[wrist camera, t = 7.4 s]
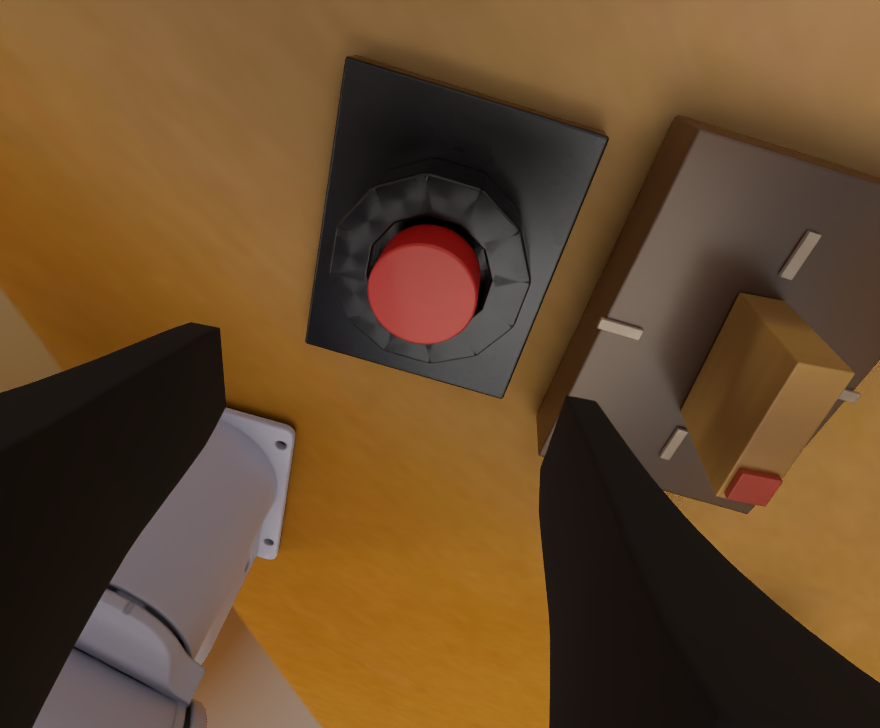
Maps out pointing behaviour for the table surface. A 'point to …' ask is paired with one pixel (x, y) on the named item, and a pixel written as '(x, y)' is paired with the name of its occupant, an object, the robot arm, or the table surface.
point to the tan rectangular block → (760, 397)
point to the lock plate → (719, 285)
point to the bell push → (445, 214)
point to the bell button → (425, 284)
